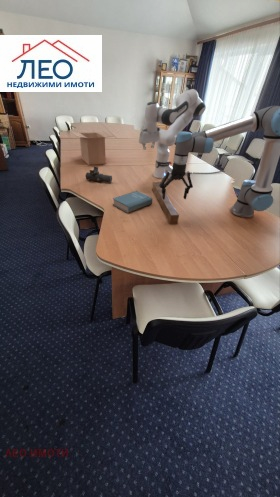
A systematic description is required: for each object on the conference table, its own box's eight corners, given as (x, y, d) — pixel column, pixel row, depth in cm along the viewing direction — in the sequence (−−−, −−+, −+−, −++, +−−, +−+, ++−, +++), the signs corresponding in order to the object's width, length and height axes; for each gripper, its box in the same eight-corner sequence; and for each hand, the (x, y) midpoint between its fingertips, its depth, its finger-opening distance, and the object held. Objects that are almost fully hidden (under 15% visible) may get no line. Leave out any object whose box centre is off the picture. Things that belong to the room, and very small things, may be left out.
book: (136, 197, 168) (136, 190, 165) (151, 204, 159) (152, 197, 156) (113, 204, 154) (112, 198, 151) (128, 213, 145) (128, 206, 142)
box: (116, 165, 229) (116, 136, 213) (83, 168, 214) (80, 137, 198) (102, 154, 259) (101, 128, 243) (71, 156, 244) (68, 129, 228)
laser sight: (109, 184, 185) (109, 172, 179) (84, 181, 187) (82, 169, 182) (112, 180, 192) (112, 169, 186) (88, 177, 195) (87, 166, 189)
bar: (152, 189, 183) (152, 182, 179) (158, 189, 183) (158, 182, 180) (169, 223, 138) (171, 215, 134) (177, 223, 139) (179, 215, 135)
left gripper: (144, 130, 152) (142, 151, 160) (161, 128, 165) (159, 148, 174) (137, 128, 155) (136, 149, 164) (155, 127, 169) (153, 146, 177)
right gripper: (159, 164, 118) (155, 201, 131) (203, 165, 122) (195, 201, 135) (156, 160, 124) (153, 196, 137) (198, 161, 128) (191, 196, 141)
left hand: (148, 148), depth 169 cm, fingers open, 8 cm apart
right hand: (174, 198), depth 136 cm, fingers open, 13 cm apart
